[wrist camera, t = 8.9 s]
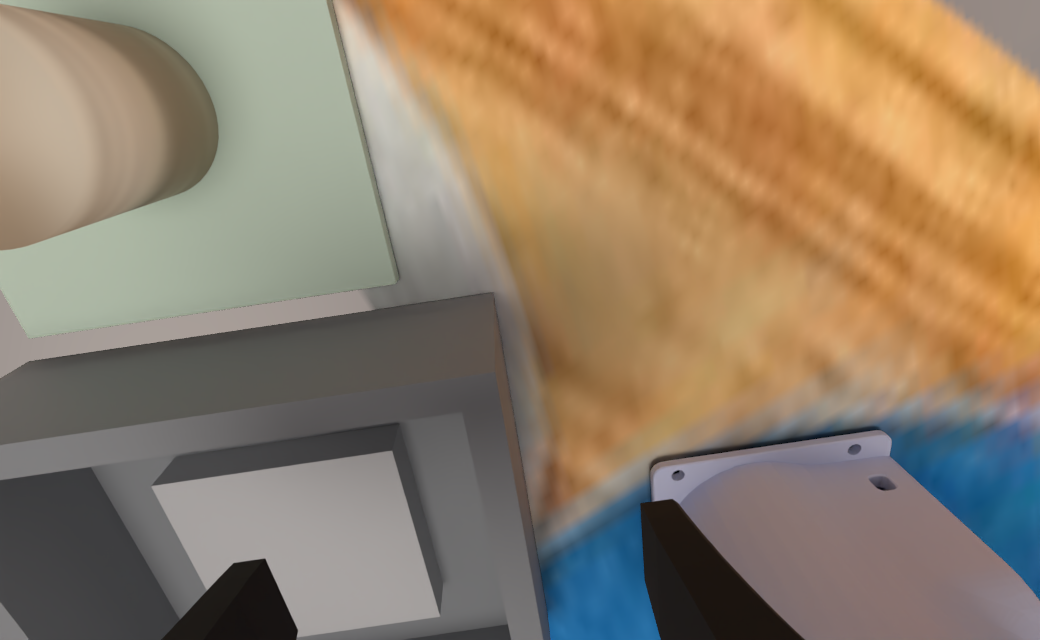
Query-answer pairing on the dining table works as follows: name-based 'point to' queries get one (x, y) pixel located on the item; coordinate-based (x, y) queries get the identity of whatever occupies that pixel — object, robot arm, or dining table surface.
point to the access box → (274, 481)
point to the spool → (93, 123)
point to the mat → (226, 181)
